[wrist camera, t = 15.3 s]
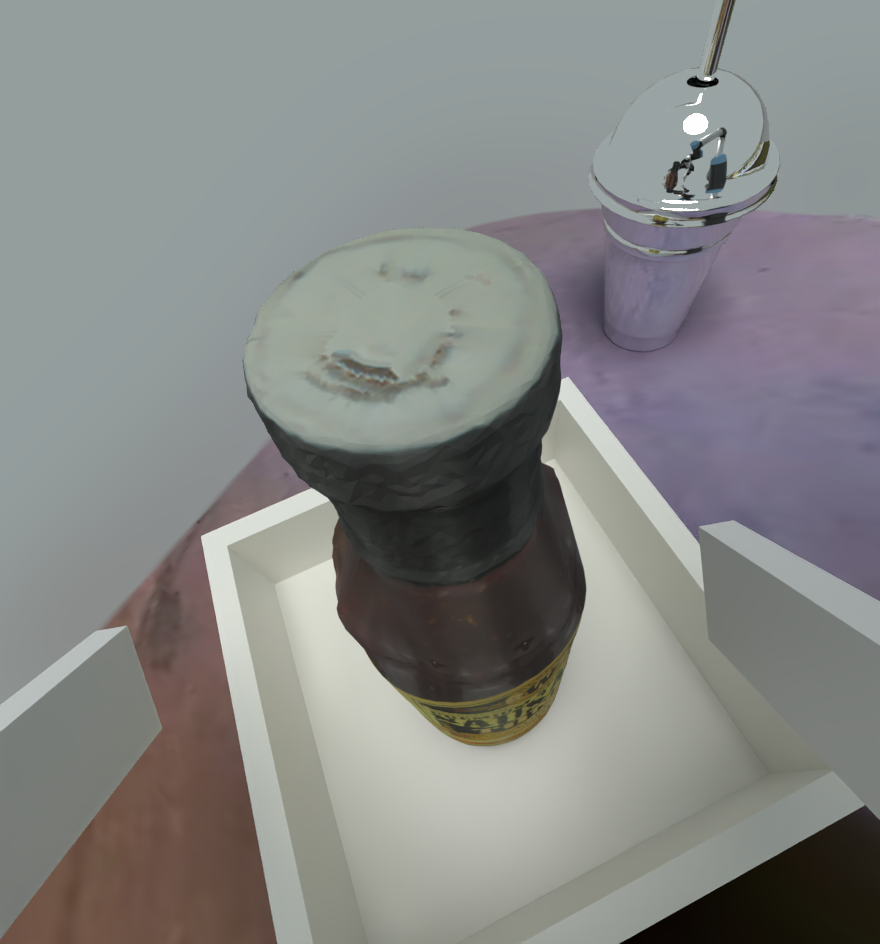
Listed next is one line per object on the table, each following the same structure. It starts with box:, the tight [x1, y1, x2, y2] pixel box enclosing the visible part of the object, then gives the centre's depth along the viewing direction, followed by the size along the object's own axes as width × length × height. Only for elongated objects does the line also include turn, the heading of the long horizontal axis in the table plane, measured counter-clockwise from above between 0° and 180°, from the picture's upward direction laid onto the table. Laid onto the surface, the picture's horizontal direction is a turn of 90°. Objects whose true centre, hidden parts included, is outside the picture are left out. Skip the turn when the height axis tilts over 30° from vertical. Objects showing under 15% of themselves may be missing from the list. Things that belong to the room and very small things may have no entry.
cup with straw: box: [588, 0, 780, 351], centre depth 25 cm, size 8×9×20 cm
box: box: [201, 377, 865, 944], centre depth 21 cm, size 18×18×6 cm
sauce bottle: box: [243, 227, 586, 746], centre depth 15 cm, size 6×6×20 cm
